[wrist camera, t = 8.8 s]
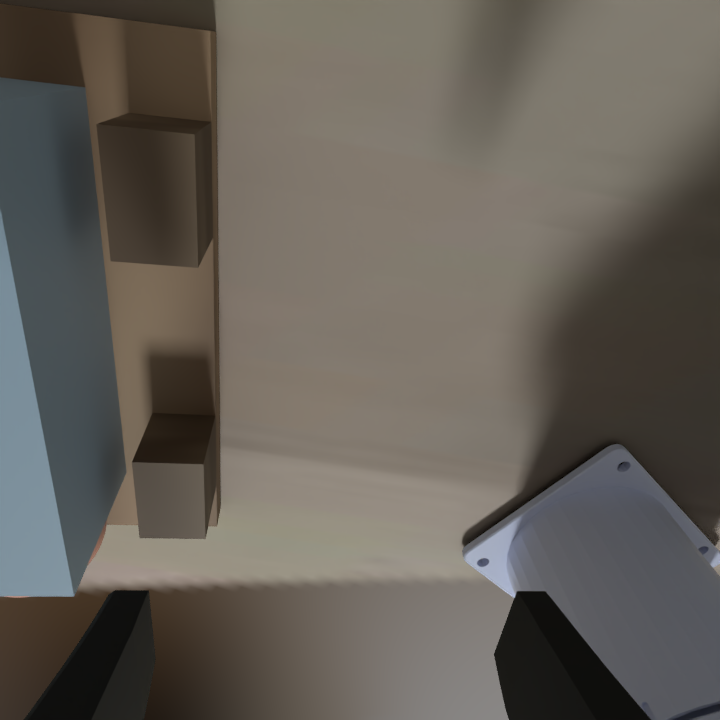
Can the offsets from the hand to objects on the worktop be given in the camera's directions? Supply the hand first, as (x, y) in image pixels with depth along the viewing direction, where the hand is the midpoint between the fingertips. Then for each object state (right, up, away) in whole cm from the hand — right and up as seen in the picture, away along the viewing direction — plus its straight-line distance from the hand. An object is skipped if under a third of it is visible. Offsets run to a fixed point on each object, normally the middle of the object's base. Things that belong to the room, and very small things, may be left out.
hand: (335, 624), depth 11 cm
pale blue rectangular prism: (-9, +6, +5) cm, 12 cm away
